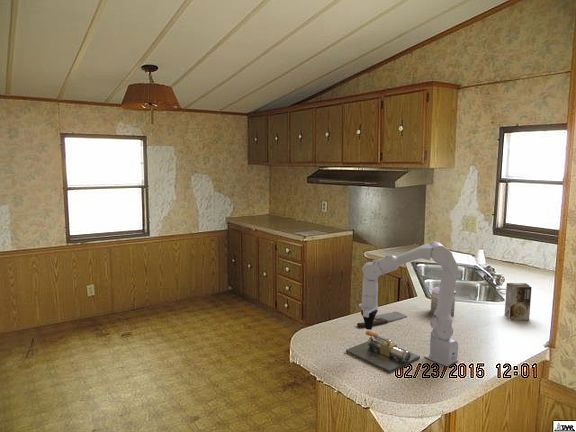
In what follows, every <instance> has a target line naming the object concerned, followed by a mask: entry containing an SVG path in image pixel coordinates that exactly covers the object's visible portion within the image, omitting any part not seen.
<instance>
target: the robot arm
mask: <svg viewBox="0 0 576 432" xmlns="http://www.w3.org/2000/svg"><path fill="white" fill-rule="evenodd" d="M419 259H424V260H425V261H431V259H432V260H433V262H435V263H436V264H438V265H439V266H440V267H441V268H442V272H441V279H440V285H439V287H440V290H439V296H438V303H437V309H436V310H435V311H434V315H433V314H432V315H433V316H432V317H431V318H430V321H429V324H430V327H431V328H432V330H431V332H430V338H429V339H430V341H429V353H428V354H426V355H424V358H425V359H428V360H430V361H433V362H434V363H438V364H440V365H441V366H445V367H449V366H451V365H453V364H454V363H456V362H458V361H459V359H458V354H459V343H458V341H456V340H455V339H453V337H452V336H453V335H454V328H453V327H452V325H453V319H452V317H451V309H452V302H453V296H454V290H456V289H455V288H456V284H457V283H456V282H457V277H458V269H459V268H458V267H459V266H458V263H457V262H456V259H455V258H454V254H453V253H452V251H450V250H449V249H448V247H446V246H444V245H443V243H441V242H439V241H435V240H434V241H431V242H430V243H428V242H427V243H423V244H422V245H420V246H417V247H416V248H413V249H411V250H409V251H406V252H403V253H401V254H398V255H397V256H396V255H393V254H390V255H389V254H384V257H382V258H379V259H377V260H376V259H373V260H372V261H367V262H366V263H364V265H363V266H362V268H361V271H362V274H363V277H362V285H361V286H362V290H361V291H362V293H361V295H362V296H361V303H359V304H358V307H359V308H361V311H360V314H361V316H362V317H363V322H365V328H364V329H365V330H367V331H372V329H373V327H374V326H373V322H374V321H375V319H374V318H375V316H377V315H378V314H377V313H378V312H379V311H378V308H379V306H378V298H379V295H378V293H379V283H378V280H379V277H380V276H383V275H385V274H387V273H390V272H394V271H396V270H398V269H399V268H400V266H401V265H403V264H406V263H411V262H412V261H415V260H419Z"/></svg>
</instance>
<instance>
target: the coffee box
mask: <svg viewBox="0 0 576 432" xmlns="http://www.w3.org/2000/svg"><path fill="white" fill-rule="evenodd" d="M531 299H532V286H530V285H529V284H528V283H526V282H506V290H505V301H504V302H505V304H504V316H505V317H506V318H507V319H508V320H509V321H510V320H515V321H519V320H520V321H530V315H531V314H530V313H531V301H532V300H531Z"/></svg>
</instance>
